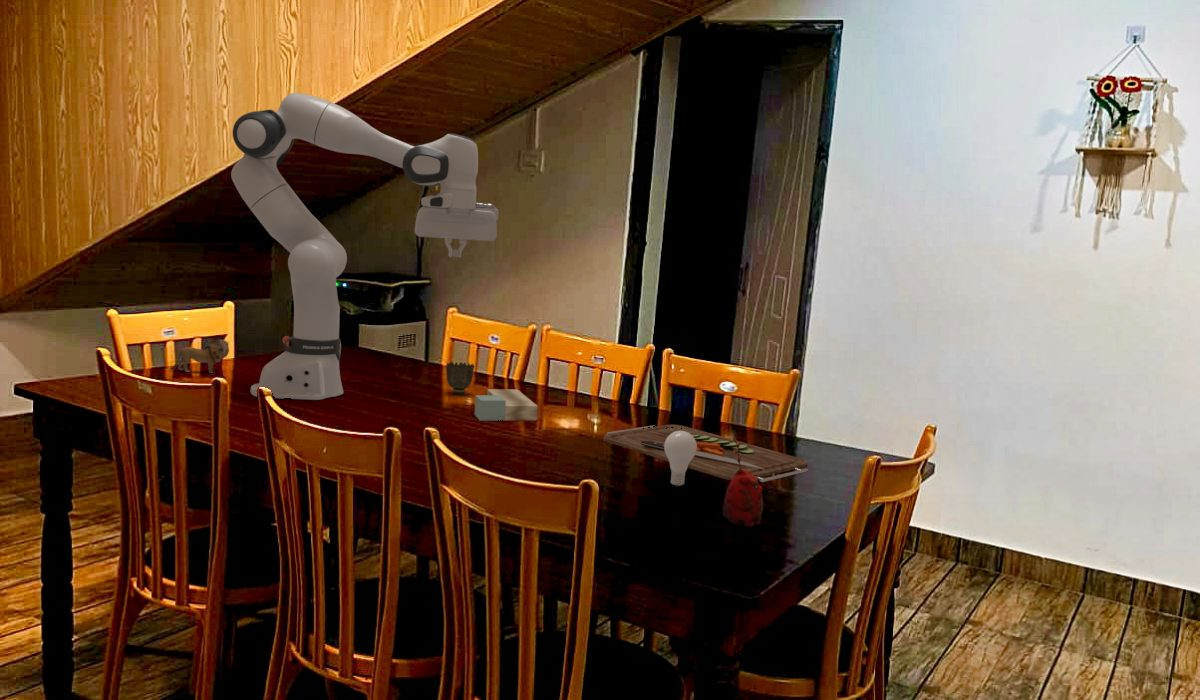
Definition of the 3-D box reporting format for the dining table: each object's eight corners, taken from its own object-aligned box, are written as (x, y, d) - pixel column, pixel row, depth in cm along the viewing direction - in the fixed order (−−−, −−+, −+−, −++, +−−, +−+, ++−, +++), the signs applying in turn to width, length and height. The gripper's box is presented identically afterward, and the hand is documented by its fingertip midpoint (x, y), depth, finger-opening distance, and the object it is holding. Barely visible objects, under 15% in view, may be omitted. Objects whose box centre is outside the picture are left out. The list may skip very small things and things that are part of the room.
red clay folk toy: (761, 530, 178) (769, 446, 176) (720, 525, 180) (728, 441, 177) (761, 517, 186) (770, 436, 184) (722, 513, 187) (730, 432, 185)
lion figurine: (229, 371, 283) (229, 338, 281) (227, 374, 278) (228, 341, 276) (171, 369, 279) (171, 336, 277) (168, 373, 273) (169, 339, 272)
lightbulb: (691, 482, 206) (696, 428, 204) (695, 491, 199) (700, 436, 198) (659, 480, 205) (664, 426, 204) (662, 489, 199) (667, 433, 197)
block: (479, 421, 246) (481, 400, 245) (474, 415, 251) (475, 395, 250) (504, 421, 248) (505, 400, 247) (498, 415, 253) (499, 395, 252)
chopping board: (822, 470, 225) (823, 456, 224) (746, 488, 206) (748, 473, 206) (667, 426, 256) (668, 414, 256) (590, 439, 238) (590, 426, 237)
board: (504, 420, 248) (505, 406, 247) (486, 402, 266) (487, 389, 266) (536, 420, 250) (537, 406, 250) (516, 402, 269) (517, 389, 268)
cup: (470, 397, 271) (472, 367, 270) (442, 395, 271) (444, 365, 270) (474, 392, 278) (476, 362, 277) (447, 390, 279) (448, 360, 277)
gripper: (496, 203, 262) (492, 258, 264) (415, 198, 256) (412, 254, 258) (502, 204, 256) (498, 260, 258) (419, 198, 250) (416, 256, 252)
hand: (454, 257), depth 258 cm, fingers closed
